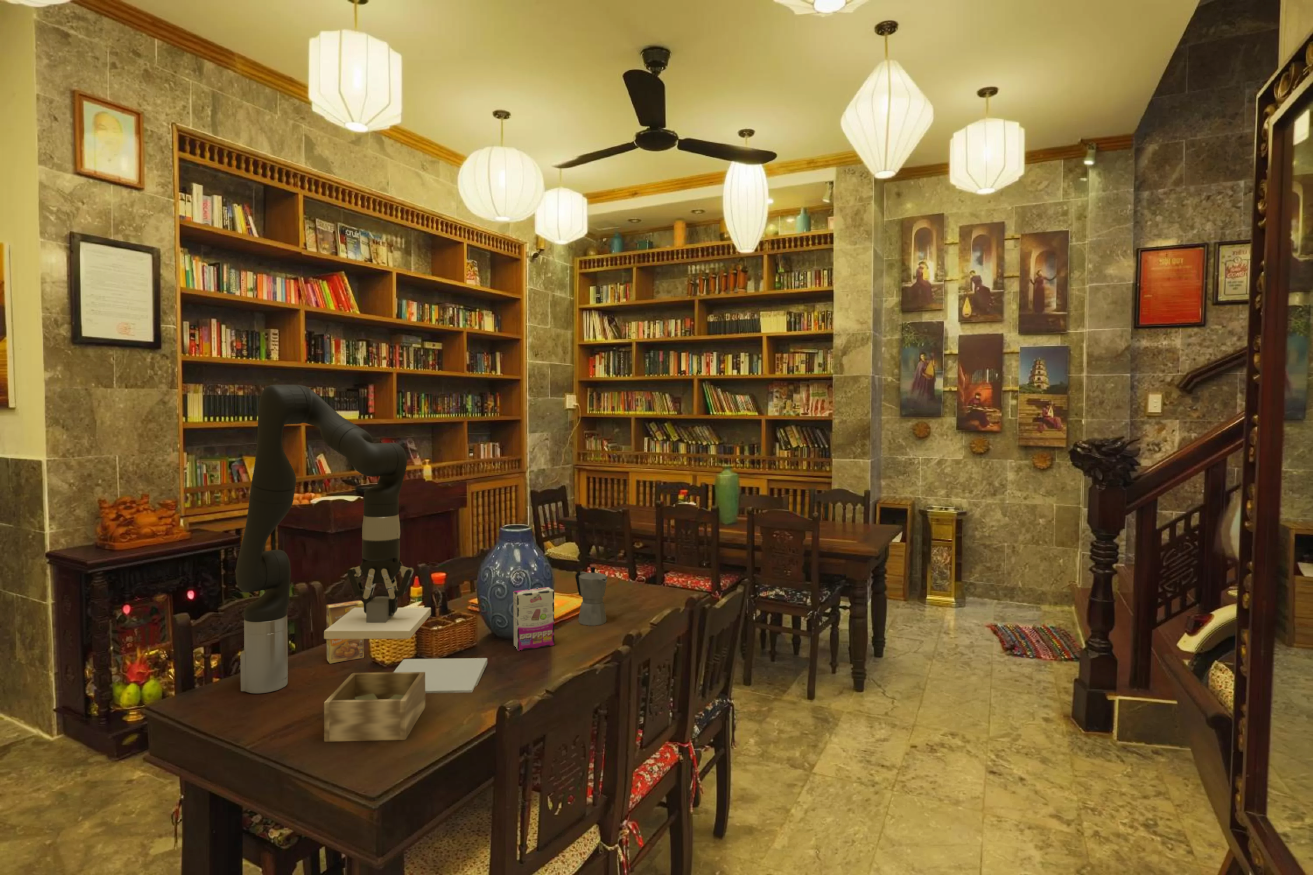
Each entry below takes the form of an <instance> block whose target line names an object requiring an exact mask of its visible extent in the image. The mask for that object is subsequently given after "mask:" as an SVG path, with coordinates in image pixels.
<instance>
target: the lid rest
mask: <svg viewBox="0 0 1313 875" xmlns="http://www.w3.org/2000/svg"><path fill="white" fill-rule="evenodd" d="M487 665H488V658H487V657H477V658H475V657H472V658H471V657H470V658H404V659H403V660H402V661H401V662H400V663H399V664H398V666H397V667H396V668H395V670H394V671H393V672H425V694H454V693H456V694H457V693H459V694H461V693H462V694H464V693H473V691H474V689H475V687H478V684H479V682H480V680H481V678H482V676H483V674H484V671H485V669H486V668H487Z"/></svg>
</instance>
